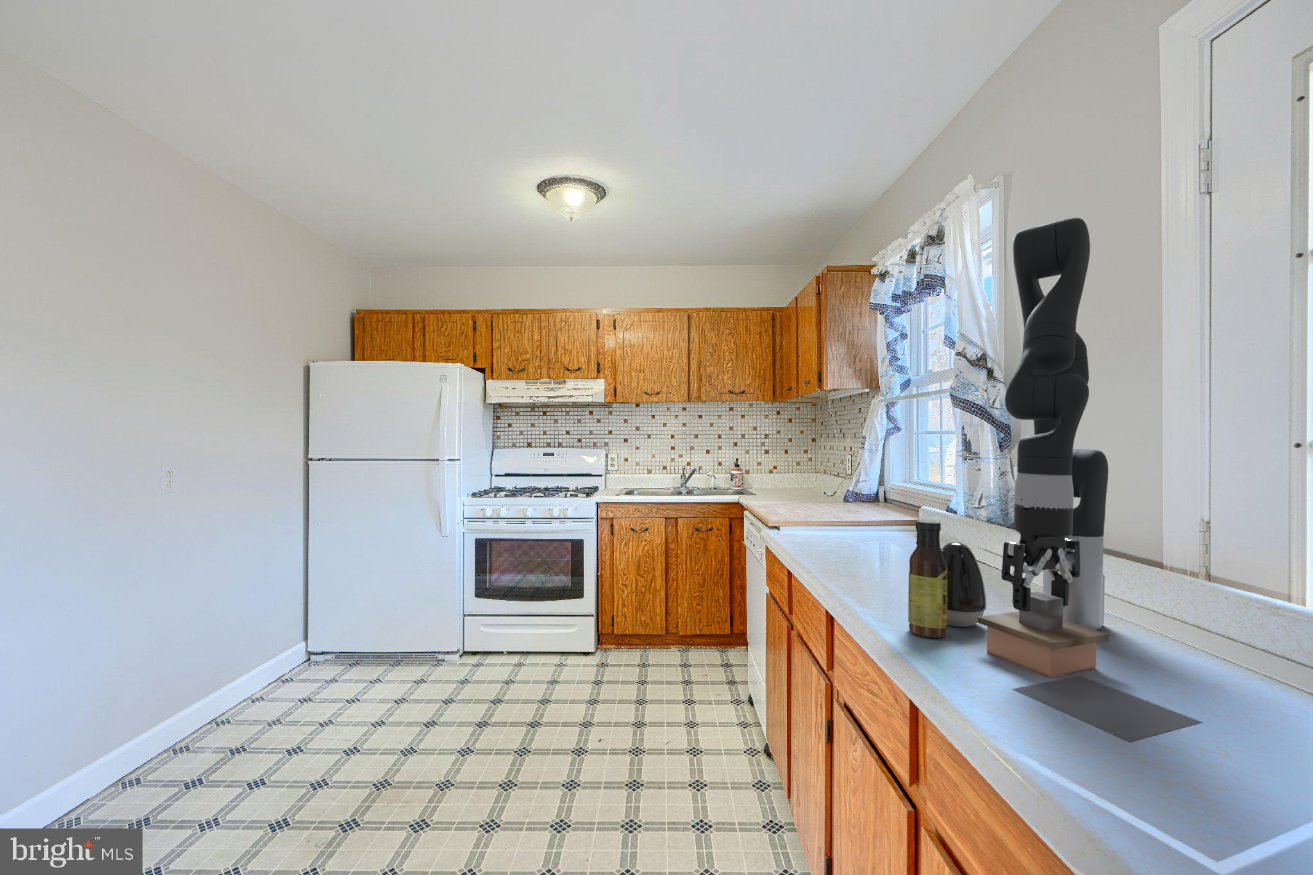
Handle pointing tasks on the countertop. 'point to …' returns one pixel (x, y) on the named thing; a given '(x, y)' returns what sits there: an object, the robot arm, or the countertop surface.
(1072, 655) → the terracotta storage tray
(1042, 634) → the lid
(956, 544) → the black egg-shaped device
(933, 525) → the sauce bottle
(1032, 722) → the countertop surface
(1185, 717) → the mat
